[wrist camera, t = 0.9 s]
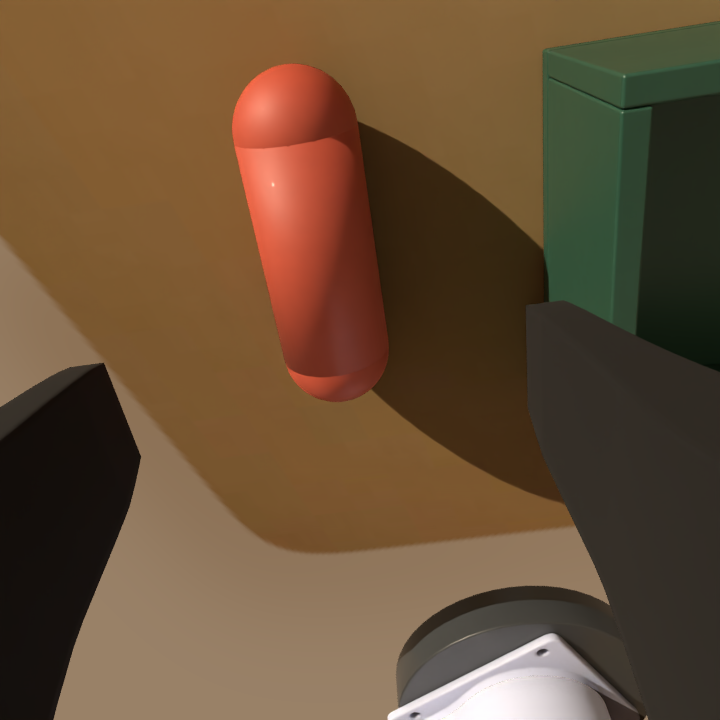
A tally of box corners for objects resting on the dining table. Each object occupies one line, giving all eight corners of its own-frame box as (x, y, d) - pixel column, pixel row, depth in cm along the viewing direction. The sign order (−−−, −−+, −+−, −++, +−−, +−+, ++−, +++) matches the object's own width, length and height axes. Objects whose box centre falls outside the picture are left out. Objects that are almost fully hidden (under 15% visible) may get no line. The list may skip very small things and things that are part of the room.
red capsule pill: (402, 366, 20) (384, 423, 18) (310, 366, 21) (281, 422, 18) (361, 47, 16) (328, 64, 13) (246, 64, 16) (195, 83, 14)
